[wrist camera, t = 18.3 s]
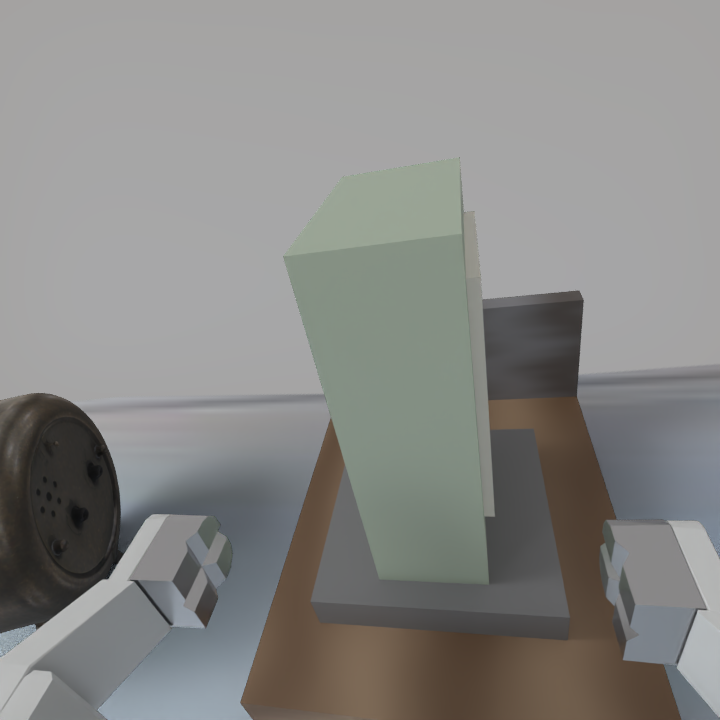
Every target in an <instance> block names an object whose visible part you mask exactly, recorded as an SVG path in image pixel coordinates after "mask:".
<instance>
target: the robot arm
mask: <svg viewBox="0 0 720 720" xmlns="http://www.w3.org/2000/svg"><path fill="white" fill-rule="evenodd" d="M219 527H220V524H219V522H218V520H217V519H216V517H215V516H199V515H174V514H152V515H151V516H150V517H149V518H147V519H146V520H145V522H144V523H143V525H142V526H141V528H140V529H139V531H138V533H137V534H136V536H135V537H134V539H133V541H132V542H131V544H130V545H129V547H128V549H127V550H126V552H125V553H124V555H123V556H122V558H121V560H120V561H119V563H118V564H117V566H116V568H115V569H114V571H113V572H112V574H111V576H110V577H109V579H102V580H101V581H100V582H98V583H97V584H96V585H95V586H93V587H92V588H91V589H89V590H88V591H87V592H85V593H84V594H83V595H82V596H80V597H79V598H78V599H76V600H75V601H74V602H72V603H71V604H70V605H69V606H67V607H66V608H65V609H63V610H62V611H61V612H59V613H58V614H57V615H56V616H54V617H53V618H52V619H50V620H49V621H48V622H47V623H45V624H44V625H43V626H41V627H40V628H39V629H37V630H36V631H35V632H34V633H32V634H31V635H30V636H28V637H27V638H26V639H24V640H23V641H22V642H21V643H19V644H18V645H17V646H15V647H14V648H13V649H11V650H10V651H9V652H8V653H6V654H5V655H4V656H2V657H1V658H0V720H107V719H106V718H105V717H104V716H103V715H101V714H100V713H99V712H98V711H97V710H98V708H99V707H100V706H101V705H102V704H103V703H104V702H105V701H106V700H107V699H108V698H109V697H110V696H111V694H112V693H113V692H114V691H115V690H116V689H117V688H118V687H119V686H120V685H121V684H122V683H123V681H124V680H125V679H126V678H127V677H128V676H129V675H130V674H131V673H132V672H133V671H134V670H135V668H136V667H137V666H138V665H139V664H140V663H141V662H142V661H143V660H144V659H145V658H146V657H147V656H148V654H149V653H150V652H151V651H152V650H153V649H154V648H155V647H156V646H157V645H158V644H159V643H160V641H161V640H162V639H163V638H164V637H165V636H166V635H167V634H168V633H169V632H170V631H171V630H172V628H171V627H186V628H206V627H207V624H208V622H209V619H210V617H211V615H212V612H213V610H214V607H215V605H216V603H217V600H218V595H217V591H216V588H217V587H218V586H219V585H220V584H221V583H223V582H224V581H225V580H226V578H227V576H228V573H229V570H230V568H231V562H232V554H233V553H232V548H231V543H230V542H229V540H228V538H227V537H226V536H225V535H223V534H222V533H220V532H219V531H218V529H219ZM602 533H603V536H604V540H605V543H604V544H603V545H601V546H600V553H599V563H600V574H601V579H602V584H603V588H604V592H605V596H606V598H607V599H608V600H609V601H610V602H611V603H612V604H613V605H614V606H615V608H614V614H613V620H612V622H613V626H614V630H615V633H616V637H617V641H618V644H619V648H620V652H621V655H622V659H623V660H627V661H637V662H647V663H657V664H667V665H677V669H678V670H679V671H680V673H681V674H682V675H683V676H684V677H685V679H686V680H687V681H688V682H689V683H690V684H691V686H692V687H693V688H694V689H695V690H696V691H697V693H698V694H699V695H700V696H701V697H702V698H703V700H704V701H705V702H706V703H707V704H708V705H709V707H710V708H711V709H712V710H713V711H714V712H715V714H716V715H717V716H718V717H719V718H720V557H719V555H718V553H717V551H716V550H715V548H714V546H713V544H712V542H711V540H710V538H709V536H708V534H707V532H706V530H705V528H704V526H703V525H702V524H701V523H700V522H699V521H694V520H686V521H664V520H605V522H604V523H603V529H602Z"/></svg>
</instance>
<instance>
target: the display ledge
mask: <svg viewBox="0 0 720 720" xmlns="http://www.w3.org/2000/svg"><path fill="white" fill-rule="evenodd" d="M583 301H584V300H583V298H582V295H581V293H580V291H569V292H559V293H548V294H537V295H527V296H516V297H507V298H495V299H484V300H482V306H483V323H484V340H485V357H486V374H487V391H488V408H489V425H490V430H499V429H534V433H535V438H536V443H537V448H538V454H539V459H540V464H541V469H542V474H543V480H544V485H545V490H546V495H547V500H548V506H549V511H550V516H551V521H552V527H553V532H554V537H555V542H556V547H557V553H558V558H559V563H560V568H561V573H562V579H563V584H564V589H565V594H566V600H567V605H568V610H569V615H570V623H569V634H568V640H554V639H540V638H526V637H512V636H499V635H485V634H471V633H457V632H443V631H429V630H416V629H402V628H388V627H374V626H360V625H347V624H333V623H320V622H319V619H318V617H317V615H316V613H315V611H314V608H313V606H312V604H311V602H310V601H311V597H312V593H313V589H314V585H315V581H316V578H317V574H318V570H319V566H320V562H321V558H322V554H323V550H324V546H325V542H326V538H327V534H328V530H329V526H330V522H331V518H332V514H333V510H334V506H335V502H336V498H337V494H338V490H339V486H340V482H341V478H342V474H343V470H344V466H345V462H344V459H343V456H342V452H341V449H340V445H339V442H338V439H337V435H336V432H335V429H334V425H333V422H332V419H330V422H329V425H328V429H327V432H326V435H325V438H324V441H323V444H322V447H321V451H320V454H319V457H318V460H317V463H316V466H315V469H314V473H313V476H312V479H311V482H310V485H309V488H308V491H307V495H306V498H305V501H304V504H303V507H302V510H301V513H300V517H299V520H298V523H297V526H296V529H295V532H294V535H293V539H292V542H291V545H290V548H289V551H288V554H287V558H286V561H285V564H284V567H283V570H282V573H281V576H280V580H279V583H278V586H277V589H276V592H275V595H274V598H273V602H272V605H271V608H270V611H269V614H268V617H267V620H266V624H265V627H264V630H263V633H262V636H261V639H260V642H259V646H258V649H257V652H256V655H255V658H254V661H253V665H252V668H251V671H250V674H249V677H248V680H247V683H246V687H245V690H244V693H243V696H242V699H241V702H240V703H241V705H242V706H243V707H244V708H245V710H246V711H247V712H248V714H249V715H250V716H251V718H252V719H253V720H681V717H680V714H679V711H678V708H677V705H676V702H675V699H674V696H673V693H672V690H671V687H670V683H669V680H668V677H667V674H666V671H665V668H664V665H663V664H657V663H647V662H637V661H627V660H623V659H622V655H621V652H620V648H619V644H618V641H617V637H616V633H615V630H614V626H613V622H612V620H613V614H614V608H615V606H614V605H613V604H612V603H611V602H610V601H609V600H608V599H607V598H606V596H605V592H604V588H603V584H602V579H601V574H600V563H599V553H600V546H601V545H603V544H604V543H605V540H604V536H603V533H602V529H603V523H604V522H605V520H616V517H615V513H614V510H613V507H612V504H611V501H610V498H609V495H608V492H607V489H606V486H605V483H604V479H603V476H602V473H601V470H600V467H599V464H598V461H597V458H596V455H595V452H594V449H593V445H592V442H591V439H590V436H589V433H588V430H587V427H586V424H585V421H584V418H583V415H582V411H581V408H580V405H579V402H578V399H577V384H578V370H579V356H580V342H581V329H582V314H583Z"/></svg>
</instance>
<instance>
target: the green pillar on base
mask: <svg viewBox="0 0 720 720" xmlns="http://www.w3.org/2000/svg"><path fill="white" fill-rule="evenodd" d="M462 197H463V196H462V183H461V169H460V158H453V159H447V160H441V161H436V162H429V163H423V164H418V165H411V166H405V167H399V168H393V169H387V170H382V171H375V172H369V173H363V174H357V175H351V176H346V177H342V178H341V179H340V181H339V182H338V184H337V185H336V186H335V187H334V189H333V190H332V192H331V193H330V194H329V196H328V197H327V198H326V200H325V201H324V202H323V204H322V205H321V206H320V208H319V209H318V211H317V212H316V213H315V215H314V216H313V217H312V218H311V220H310V221H309V222H308V224H307V225H306V227H305V228H304V229H303V231H302V232H301V233H300V235H299V236H298V237H297V239H296V240H295V241H294V243H293V244H292V245H291V247H290V248H289V249H288V251H287V252H286V253H285V255H284V256H283V258H284V261H285V264H286V267H287V271H288V274H289V278H290V281H291V284H292V287H293V291H294V294H295V298H296V301H297V304H298V308H299V311H300V314H301V318H302V321H303V325H304V328H305V331H306V335H307V338H308V341H309V344H310V348H311V351H312V355H313V358H314V362H315V365H316V368H317V371H318V375H319V378H320V382H321V385H322V388H323V392H324V395H325V398H326V402H327V405H328V409H329V412H330V415H331V419H332V422H333V425H334V429H335V432H336V435H337V439H338V442H339V445H340V449H341V452H342V456H343V459H344V462H345V466H344V470H343V474H342V478H341V482H340V486H339V490H338V494H337V498H336V502H335V506H334V510H333V514H332V518H331V522H330V526H329V530H328V534H327V538H326V542H325V546H324V550H323V554H322V558H321V562H320V566H319V570H318V574H317V578H316V581H315V585H314V589H313V593H312V597H311V601H310V602H311V604H312V606H313V608H314V611H315V613H316V615H317V617H318V619H319V622H320V623H333V624H347V625H360V626H374V627H388V628H402V629H416V630H429V631H443V632H457V633H471V634H485V635H499V636H512V637H526V638H540V639H554V640H568V634H569V623H570V615H569V610H568V605H567V600H566V594H565V589H564V584H563V579H562V573H561V568H560V563H559V558H558V553H557V547H556V542H555V537H554V532H553V527H552V521H551V516H550V511H549V506H548V500H547V495H546V490H545V485H544V480H543V474H542V469H541V464H540V459H539V454H538V448H537V443H536V438H535V433H534V429H499V430H490V425H489V408H488V391H487V374H486V357H485V340H484V323H483V306H482V290H481V274H480V264H479V254H478V243H477V234H476V223H475V213H474V211H471V212H464V210H463V198H462Z"/></svg>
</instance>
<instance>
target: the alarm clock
mask: <svg viewBox="0 0 720 720" xmlns="http://www.w3.org/2000/svg"><path fill="white" fill-rule="evenodd" d="M120 518H121V508H120V493H119V486H118V481H117V475H116V471H115V467H114V464H113V461H112V458H111V455H110V452H109V450H108V448H107V445H106V443H105V441H104V439H103V437H102V435H101V433H100V432H99V430H98V429H97V427H96V426H95V424H94V423H93V421H92V420H91V419H90V418H89V417H88V416H87V415H86V414H85V413H84V412H83V411H82V410H81V409H80V408H79V407H77V406H76V405H75V404H73V403H72V402H70V401H68V400H66V399H64V398H61V397H58V396H55V395H52V394H45V393H34V394H27V395H22V396H18V397H13V398H9V399H4V400H0V633H3V632H7V631H10V630H14V629H17V628H21V627H25V626H29V625H33V624H35V625H36V630H37V629H39V628H40V627H41V626H43V625H44V624H45V623H47V622H48V621H49V620H50V619H52V618H53V617H54V616H56V615H57V614H58V613H59V612H61V611H62V610H63V609H65V608H66V607H67V606H69V605H70V604H71V603H72V602H74V601H75V600H76V599H78V598H79V597H80V596H82V595H83V594H84V593H85V592H87V591H88V590H89V589H91V588H92V587H93V586H95V585H96V584H97V583H98V582H100V581H101V580H102V579H105V578H106V576H107V575H108V572H109V570H110V568H111V566H112V564H114V563H115V564H118V563H119V561H120V560H121V558H122V556H123V555H124V554H123V553H121V552H120V551H119V550H118V539H119V531H120Z"/></svg>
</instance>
